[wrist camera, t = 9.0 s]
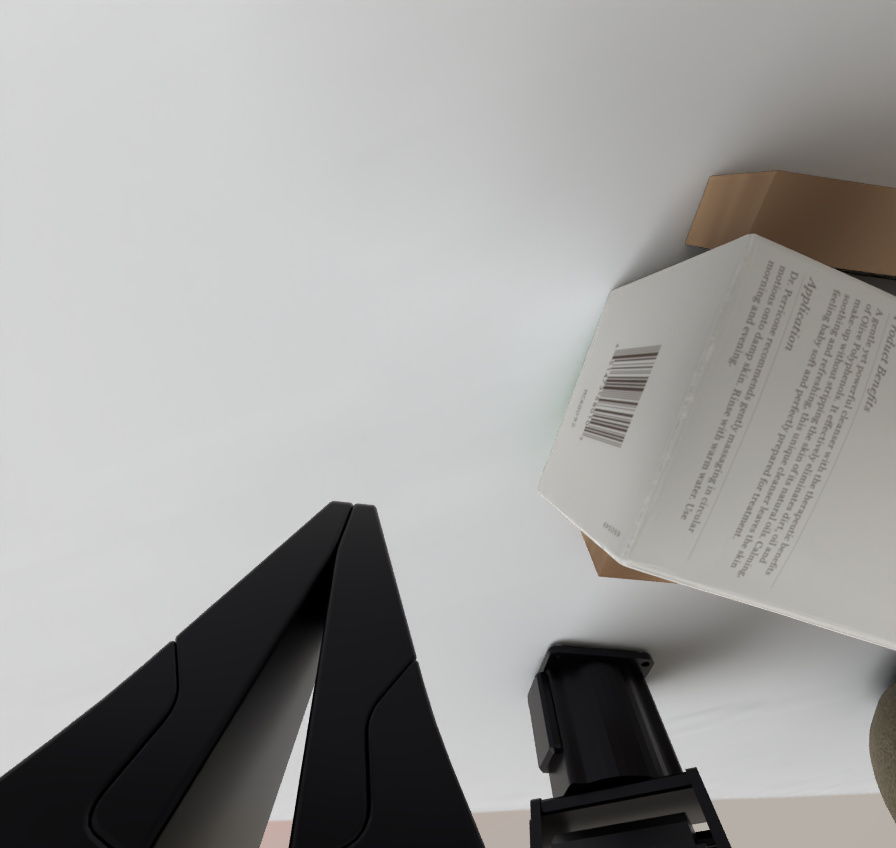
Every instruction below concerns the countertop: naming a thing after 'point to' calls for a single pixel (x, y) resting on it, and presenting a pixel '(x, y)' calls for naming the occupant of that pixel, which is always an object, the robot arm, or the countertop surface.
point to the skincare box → (743, 436)
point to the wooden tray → (792, 242)
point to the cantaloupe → (885, 747)
